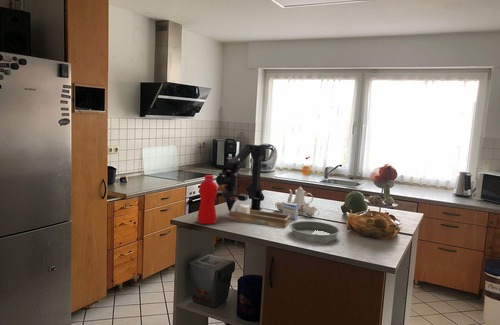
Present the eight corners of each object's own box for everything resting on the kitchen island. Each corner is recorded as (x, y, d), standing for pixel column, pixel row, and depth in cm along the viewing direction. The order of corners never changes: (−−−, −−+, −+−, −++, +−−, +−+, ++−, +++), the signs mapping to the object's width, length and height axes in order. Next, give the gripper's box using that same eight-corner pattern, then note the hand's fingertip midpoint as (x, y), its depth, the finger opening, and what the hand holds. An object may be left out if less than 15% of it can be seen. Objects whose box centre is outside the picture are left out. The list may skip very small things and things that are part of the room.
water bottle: (213, 219, 211) (216, 173, 208) (216, 224, 200) (219, 177, 197) (196, 219, 209) (199, 173, 206) (198, 224, 198) (200, 176, 195)
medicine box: (282, 218, 223) (283, 203, 222) (285, 216, 227) (286, 202, 226) (295, 220, 219) (296, 205, 219) (297, 218, 223) (299, 204, 222)
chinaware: (271, 215, 235) (272, 188, 232) (278, 207, 251) (279, 182, 247) (317, 221, 226) (319, 194, 223) (322, 213, 242) (323, 187, 238)
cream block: (239, 212, 221) (240, 204, 220) (249, 214, 219) (250, 205, 218) (236, 214, 215) (236, 206, 215) (246, 216, 213) (246, 207, 213)
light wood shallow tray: (236, 213, 226) (237, 207, 225) (290, 221, 216) (291, 214, 216) (228, 219, 213) (228, 212, 212) (285, 227, 203) (285, 220, 202)
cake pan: (305, 226, 209) (306, 218, 209) (347, 237, 194) (348, 228, 194) (279, 235, 190) (279, 226, 190) (323, 248, 175) (324, 238, 175)
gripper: (210, 183, 213) (208, 211, 215) (242, 187, 207) (240, 216, 209) (218, 181, 223) (216, 207, 225) (248, 184, 218) (247, 211, 219)
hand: (229, 210), depth 219 cm, fingers closed
